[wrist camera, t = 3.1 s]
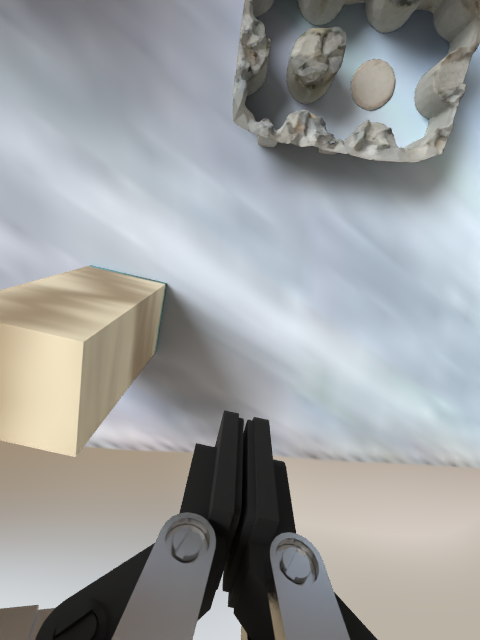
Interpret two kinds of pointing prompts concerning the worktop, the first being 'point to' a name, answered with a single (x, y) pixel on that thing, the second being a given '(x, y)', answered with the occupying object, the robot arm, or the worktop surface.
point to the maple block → (72, 353)
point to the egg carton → (357, 76)
